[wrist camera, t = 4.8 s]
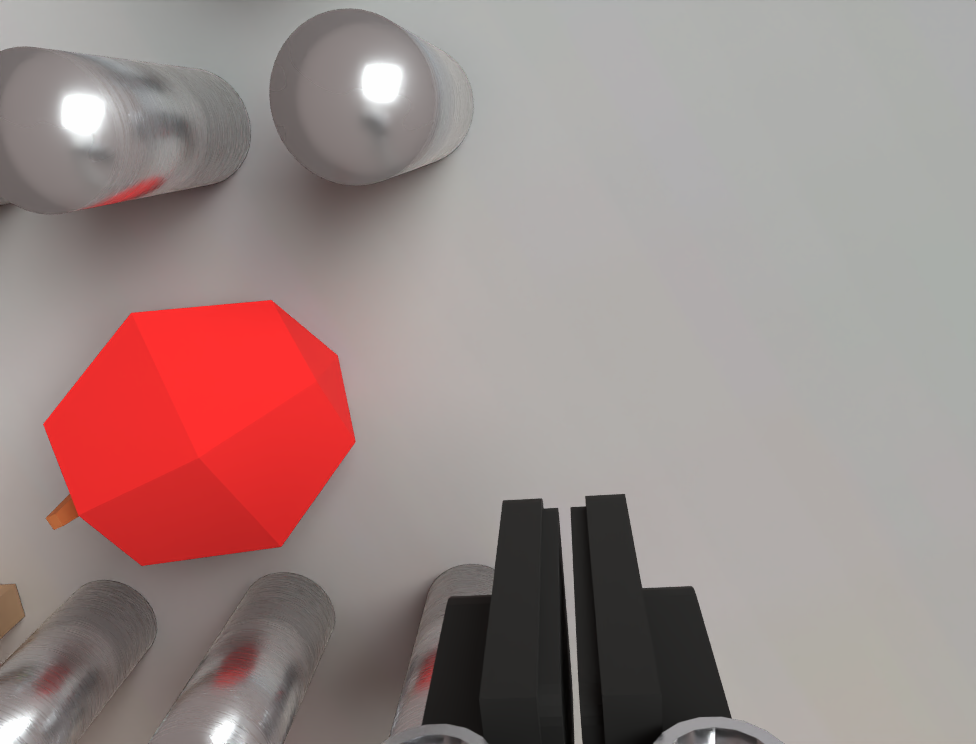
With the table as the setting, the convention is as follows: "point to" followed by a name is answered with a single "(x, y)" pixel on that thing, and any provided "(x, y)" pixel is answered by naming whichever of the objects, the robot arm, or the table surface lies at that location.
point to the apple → (201, 432)
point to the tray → (9, 608)
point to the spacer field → (178, 166)
